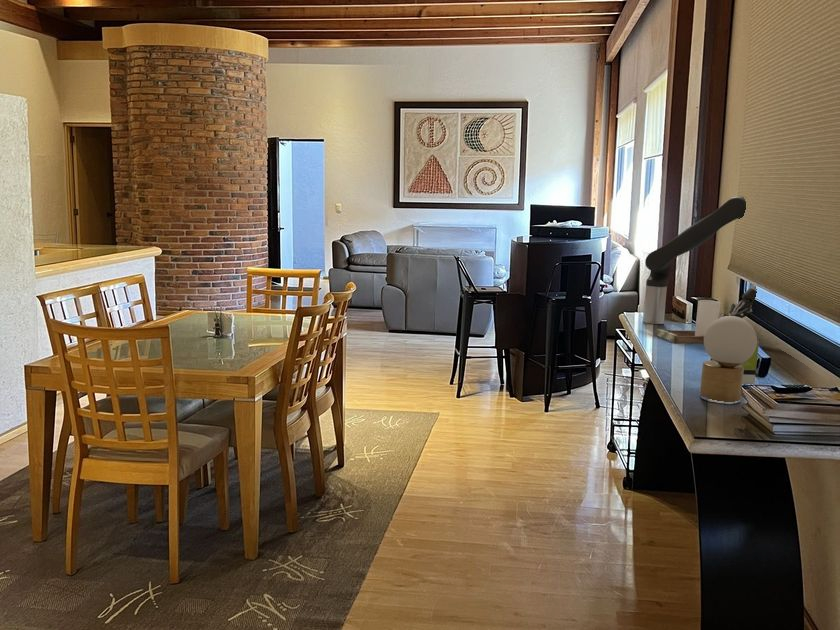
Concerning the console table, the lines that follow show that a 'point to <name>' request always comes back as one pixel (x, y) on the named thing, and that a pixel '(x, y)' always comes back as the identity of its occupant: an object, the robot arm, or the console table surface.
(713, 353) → the lamp
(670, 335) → the bay
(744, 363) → the tea box
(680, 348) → the console table surface
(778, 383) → the console table surface
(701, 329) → the cup
